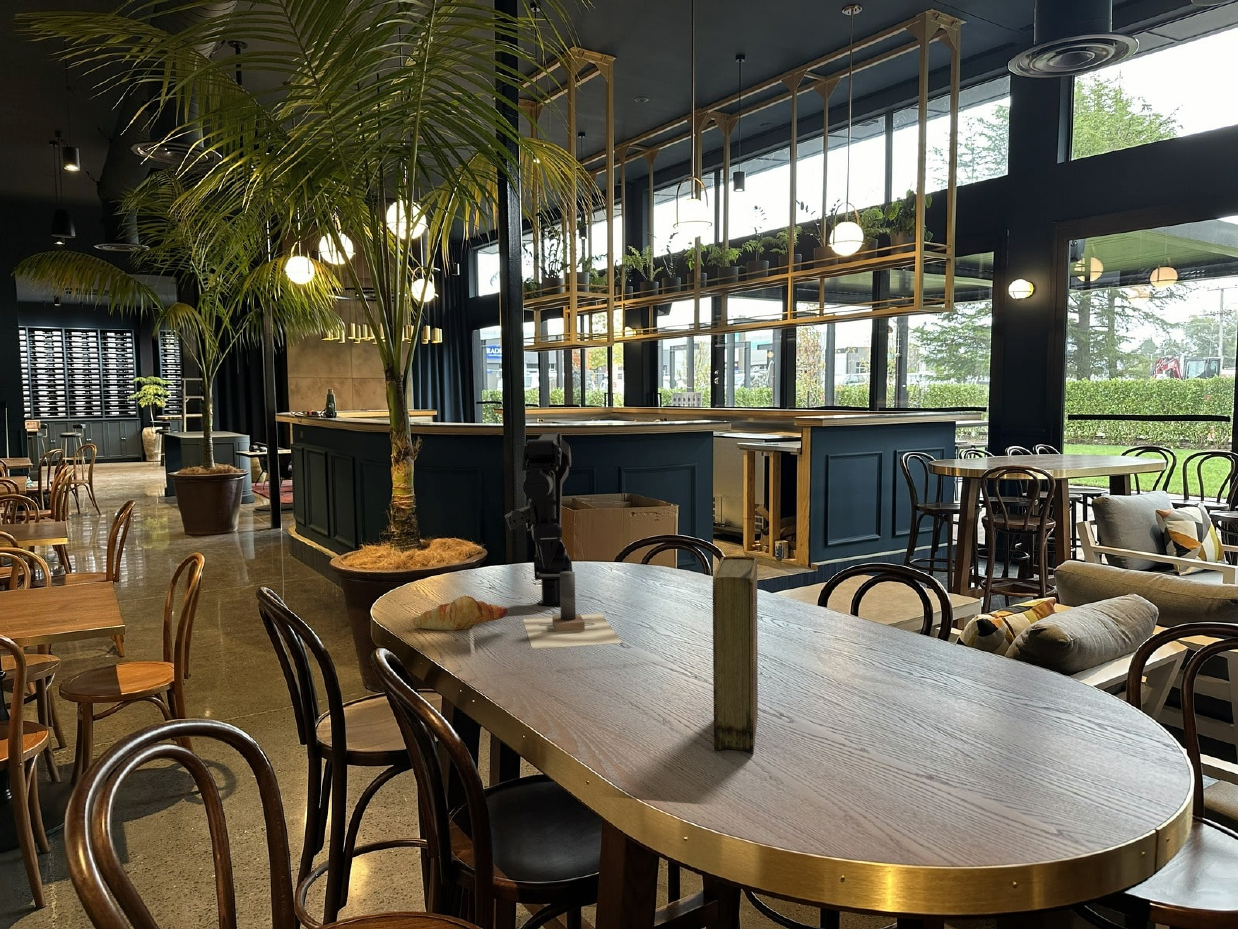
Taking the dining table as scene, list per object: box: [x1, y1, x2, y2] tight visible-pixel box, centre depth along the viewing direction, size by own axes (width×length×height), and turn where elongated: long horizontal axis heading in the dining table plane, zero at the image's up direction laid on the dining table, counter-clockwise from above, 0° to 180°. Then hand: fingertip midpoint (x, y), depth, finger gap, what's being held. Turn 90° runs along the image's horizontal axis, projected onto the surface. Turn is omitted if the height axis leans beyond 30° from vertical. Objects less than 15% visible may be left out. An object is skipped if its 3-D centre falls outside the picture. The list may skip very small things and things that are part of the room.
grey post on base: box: [551, 570, 585, 633], centre depth 180 cm, size 7×6×12 cm
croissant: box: [411, 595, 508, 631], centre depth 188 cm, size 21×10×8 cm, turn 110°
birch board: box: [522, 613, 623, 650], centre depth 179 cm, size 24×18×1 cm
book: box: [712, 555, 759, 754], centre depth 124 cm, size 16×6×25 cm, turn 168°
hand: (544, 564), depth 190 cm, fingers open, 9 cm apart
